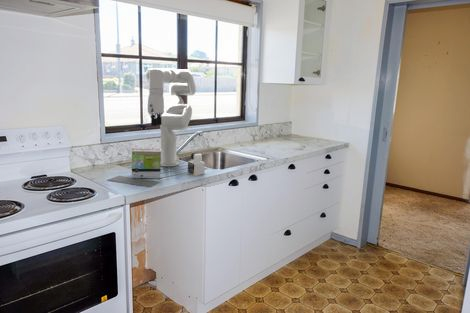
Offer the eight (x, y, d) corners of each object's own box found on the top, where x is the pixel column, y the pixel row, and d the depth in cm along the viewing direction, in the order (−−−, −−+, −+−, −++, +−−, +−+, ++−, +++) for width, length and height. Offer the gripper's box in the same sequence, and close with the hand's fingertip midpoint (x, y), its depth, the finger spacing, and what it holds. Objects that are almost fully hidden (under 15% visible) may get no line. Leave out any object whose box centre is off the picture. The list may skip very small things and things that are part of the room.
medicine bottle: (187, 173, 210) (187, 152, 208) (198, 171, 215) (198, 151, 212) (193, 175, 205) (194, 155, 202) (204, 174, 209) (205, 153, 206)
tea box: (131, 178, 192) (131, 151, 189) (131, 174, 201) (131, 147, 199) (160, 178, 196) (161, 151, 194) (159, 173, 206) (159, 148, 203)
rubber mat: (119, 176, 198) (119, 175, 198) (161, 182, 189) (161, 181, 189) (106, 180, 188) (106, 179, 188) (150, 187, 180) (150, 186, 180)
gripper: (158, 91, 208) (158, 123, 212) (141, 91, 193) (141, 126, 197) (170, 92, 206) (169, 124, 210) (153, 92, 190) (154, 127, 194)
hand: (156, 124), depth 203 cm, fingers open, 4 cm apart
